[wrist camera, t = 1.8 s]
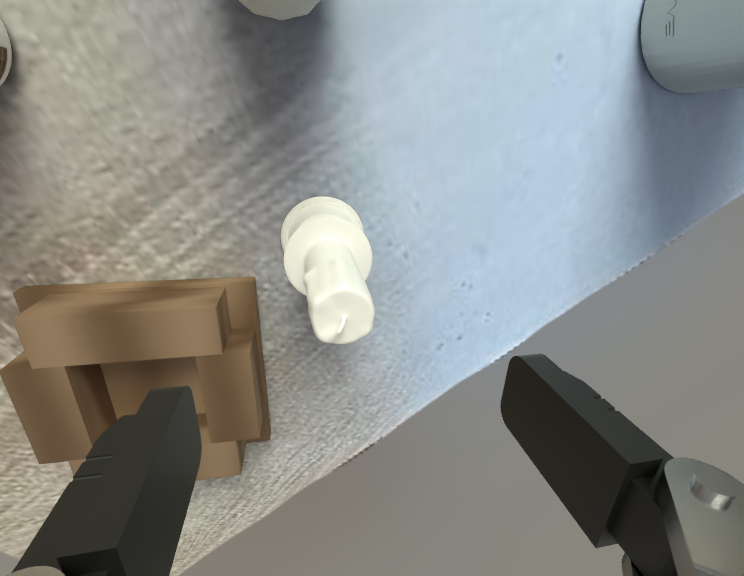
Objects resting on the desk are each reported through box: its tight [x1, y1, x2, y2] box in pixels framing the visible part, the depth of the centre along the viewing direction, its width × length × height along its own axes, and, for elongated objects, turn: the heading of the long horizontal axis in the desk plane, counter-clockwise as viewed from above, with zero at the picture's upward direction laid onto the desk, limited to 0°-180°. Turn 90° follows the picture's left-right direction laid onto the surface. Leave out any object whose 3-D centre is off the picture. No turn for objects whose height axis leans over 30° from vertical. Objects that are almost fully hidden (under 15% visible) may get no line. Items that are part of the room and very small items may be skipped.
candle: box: [281, 196, 375, 344], centre depth 18 cm, size 5×5×12 cm
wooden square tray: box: [0, 277, 271, 480], centre depth 23 cm, size 13×13×4 cm
